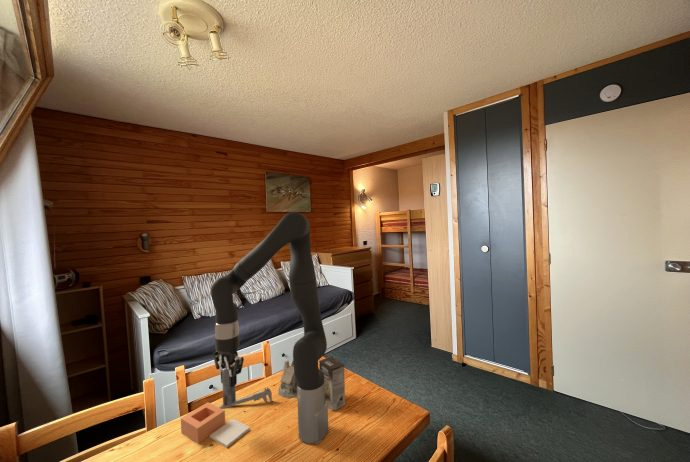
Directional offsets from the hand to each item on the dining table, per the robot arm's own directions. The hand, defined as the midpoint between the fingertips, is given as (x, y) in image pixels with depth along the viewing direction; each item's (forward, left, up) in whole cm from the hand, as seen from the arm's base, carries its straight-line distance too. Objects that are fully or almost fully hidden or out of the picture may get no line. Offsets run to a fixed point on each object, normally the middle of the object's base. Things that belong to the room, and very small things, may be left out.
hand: (228, 383), depth 92 cm
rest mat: (0, 0, -17) cm, 17 cm away
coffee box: (-22, -30, -17) cm, 41 cm away
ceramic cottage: (-4, -31, -17) cm, 36 cm away
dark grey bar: (0, 0, -6) cm, 6 cm away
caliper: (+8, -13, -18) cm, 23 cm away
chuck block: (+10, +3, -17) cm, 20 cm away
